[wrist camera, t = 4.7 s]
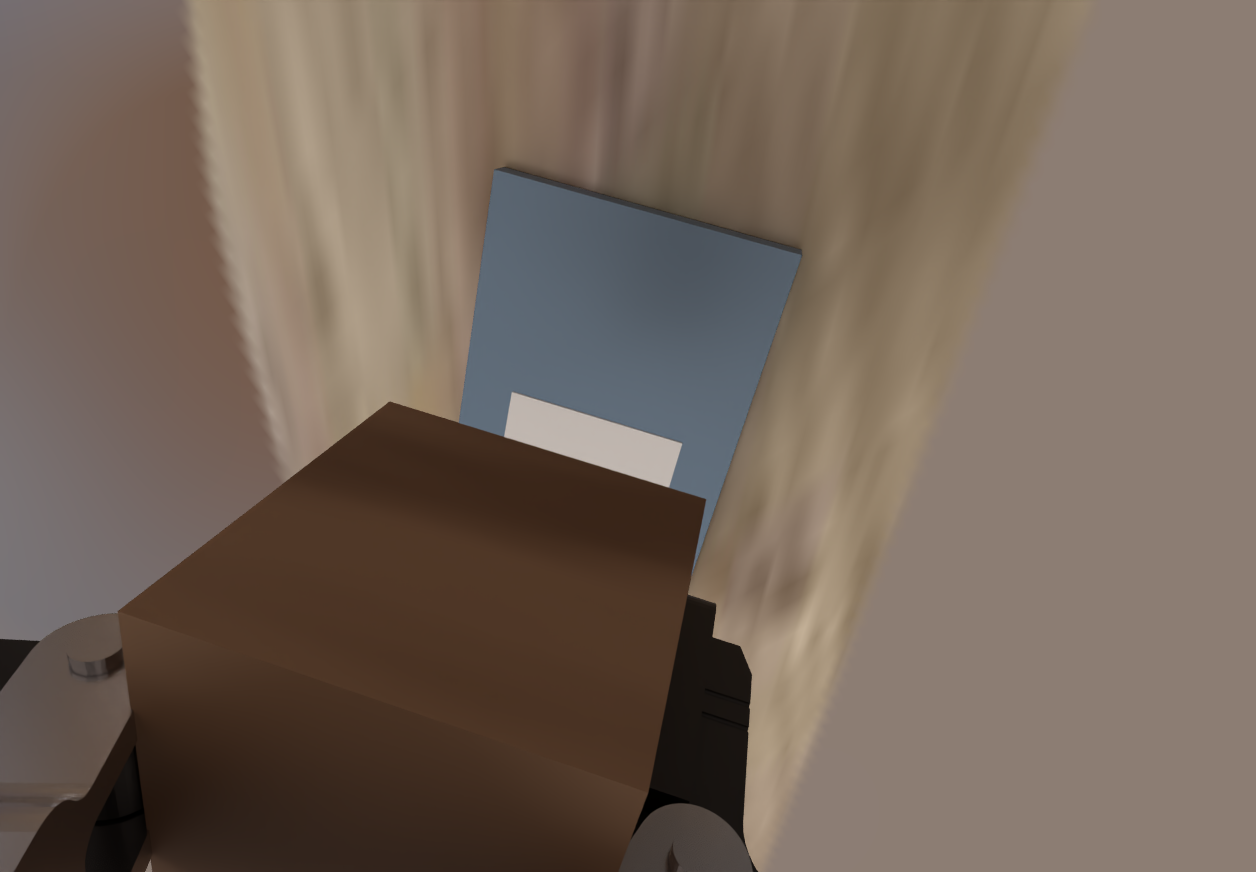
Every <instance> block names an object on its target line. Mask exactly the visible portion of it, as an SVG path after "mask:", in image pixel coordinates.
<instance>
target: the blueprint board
mask: <svg viewBox="0 0 1256 872" xmlns="http://www.w3.org/2000/svg"><path fill="white" fill-rule="evenodd" d="M801 257H802V250H800V249H797V248H793V247H789V246H786V245H782V244H779V243H775V242H771V241H768V240H764V239H761V238H757V237H753V236H750V235H746V234H743V233H739V232H735V231H732V230H728V229H725V228H721V227H718V226H714V225H710V224H707V223H703V222H700V221H696V220H692V219H689V218H685V217H682V216H678V215H674V214H671V213H667V212H664V211H660V210H656V209H653V208H649V207H646V206H642V205H639V204H635V203H631V202H628V201H624V200H621V199H617V198H613V197H610V196H606V195H603V194H599V193H595V192H592V191H588V190H585V189H581V188H578V187H574V186H570V185H567V184H563V183H560V182H556V181H552V180H549V179H545V178H542V177H538V176H534V175H531V174H527V173H524V172H520V171H516V170H513V169H509V168H506V167H502V168H498V169H494V175H493V182H492V189H491V196H490V203H489V210H488V218H487V225H486V232H485V239H484V246H483V253H482V261H481V268H480V275H479V282H478V289H477V296H476V304H475V311H474V318H473V325H472V332H471V339H470V347H469V354H468V361H467V368H466V375H465V382H464V390H463V397H462V404H461V411H460V418H459V423H461V424H464V425H467V426H471V427H474V428H477V429H480V430H484V431H487V432H490V433H493V434H497V435H500V436H503V437H506V438H510V439H513V440H516V441H519V442H523V443H526V444H529V445H532V446H536V447H539V448H542V449H545V450H549V451H552V452H555V453H558V454H562V455H565V456H568V457H571V458H574V459H578V460H581V461H584V462H587V463H591V464H594V465H597V466H600V467H604V468H607V469H610V470H613V471H617V472H620V473H623V474H626V475H630V476H633V477H636V478H639V479H643V480H646V481H649V482H652V483H656V484H659V485H662V486H665V487H669V488H672V489H675V490H678V491H682V492H685V493H688V494H691V495H695V496H698V497H701V498H704V499H706V504H705V509H704V514H703V519H702V524H701V529H700V534H699V539H698V544H697V549H696V554H695V560H694V565H693V570H694V567H695V564H696V561H697V558H698V556H699V553H700V550H701V547H702V544H703V541H704V538H705V535H706V532H707V529H708V527H709V524H710V521H711V518H712V515H713V512H714V509H715V506H716V503H717V500H718V498H719V495H720V492H721V489H722V486H723V483H724V480H725V477H726V474H727V472H728V469H729V466H730V463H731V460H732V457H733V454H734V451H735V448H736V445H737V443H738V440H739V437H740V434H741V431H742V428H743V425H744V422H745V419H746V416H747V414H748V411H749V408H750V405H751V402H752V399H753V396H754V393H755V390H756V387H757V385H758V382H759V379H760V376H761V373H762V370H763V367H764V364H765V361H766V358H767V356H768V353H769V350H770V347H771V344H772V341H773V338H774V335H775V332H776V330H777V327H778V324H779V321H780V318H781V315H782V312H783V309H784V306H785V303H786V301H787V298H788V295H789V292H790V289H791V286H792V283H793V280H794V277H795V274H796V272H797V269H798V266H799V263H800V260H801ZM693 570H692V573H693ZM691 576H692V575H691Z"/></svg>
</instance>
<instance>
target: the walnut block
mask: <svg viewBox="0 0 1256 872" xmlns="http://www.w3.org/2000/svg"><path fill="white" fill-rule="evenodd" d="M705 504H706V499H704V498H701V497H698V496H695V495H691V494H688V493H685V492H682V491H678V490H675V489H672V488H669V487H665V486H662V485H659V484H656V483H652V482H649V481H646V480H643V479H639V478H636V477H633V476H630V475H626V474H623V473H620V472H617V471H613V470H610V469H607V468H604V467H600V466H597V465H594V464H591V463H587V462H584V461H581V460H578V459H574V458H571V457H568V456H565V455H562V454H558V453H555V452H552V451H549V450H545V449H542V448H539V447H536V446H532V445H529V444H526V443H523V442H519V441H516V440H513V439H510V438H506V437H503V436H500V435H497V434H493V433H490V432H487V431H484V430H480V429H477V428H474V427H471V426H467V425H464V424H461V423H458V422H454V421H451V420H448V419H445V418H441V417H438V416H435V415H432V414H428V413H425V412H422V411H419V410H415V409H412V408H409V407H406V406H402V405H399V404H396V403H393V402H388V403H387V404H386V405H385V406H383V407H382V408H381V409H379V410H378V411H377V412H375V413H374V414H373V415H372V416H370V417H369V418H368V419H366V420H365V421H364V422H363V423H361V424H360V425H359V426H357V427H356V428H355V429H353V430H352V431H351V432H350V433H348V434H347V435H346V436H344V437H343V438H342V439H340V440H339V441H338V442H337V443H335V444H334V445H333V446H331V447H330V448H329V449H327V450H326V451H325V452H324V453H322V454H321V455H320V456H318V457H317V458H316V459H315V460H313V461H312V462H311V463H309V464H308V465H307V466H305V467H304V468H303V469H302V470H300V471H299V472H298V473H296V474H295V475H294V476H292V477H291V478H290V479H289V480H287V481H286V482H285V483H283V484H282V485H281V486H280V487H278V488H277V489H276V490H274V491H273V492H272V493H271V494H269V495H268V496H267V497H265V498H264V499H263V500H261V501H260V502H259V503H258V504H256V505H255V506H254V507H252V508H251V509H250V510H249V511H247V512H246V513H245V514H243V515H242V516H241V517H239V518H238V519H237V520H236V521H234V522H233V523H232V524H230V525H229V526H228V527H226V528H225V529H224V530H222V531H221V532H220V533H219V534H217V535H216V536H215V537H214V538H212V539H211V540H210V541H208V542H207V543H206V544H204V545H203V546H202V547H200V548H199V549H198V550H197V551H195V552H194V553H193V554H191V555H190V556H189V557H187V558H186V559H185V560H184V561H182V562H181V563H180V564H179V565H177V566H176V567H175V568H173V569H172V570H171V571H169V572H168V573H167V574H165V575H164V576H163V577H162V578H160V579H159V580H158V581H156V582H155V583H154V584H152V585H151V586H150V587H149V588H147V589H146V590H145V591H144V592H142V593H141V594H139V595H138V596H137V597H136V598H134V599H133V600H132V601H130V602H129V603H128V604H127V605H125V606H124V607H123V608H121V609H120V610H119V611H118V618H119V626H120V633H121V641H122V648H123V656H124V663H125V671H126V678H127V686H128V693H129V701H130V708H131V709H133V710H134V717H135V724H136V732H137V742H136V744H135V745H136V753H137V760H138V768H139V775H140V783H141V790H142V798H143V805H144V813H145V820H146V828H147V830H149V832H150V839H151V847H152V857H151V865H152V872H618V871H619V869H620V866H621V863H622V861H623V858H624V855H625V853H626V850H627V848H628V845H629V842H630V840H631V837H632V834H633V832H634V829H635V826H636V824H637V821H638V818H639V816H640V813H641V811H642V808H643V805H644V803H645V800H646V797H647V795H648V792H649V787H650V782H651V776H652V771H653V766H654V761H655V756H656V751H657V746H658V741H659V736H660V731H661V726H662V721H663V716H664V711H665V706H666V701H667V696H668V691H669V686H670V681H671V676H672V671H673V665H674V660H675V655H676V650H677V645H678V640H679V635H680V630H681V625H682V620H683V615H684V610H685V605H686V600H687V595H688V590H689V585H690V580H691V575H692V570H693V565H694V560H695V554H696V549H697V544H698V539H699V534H700V529H701V524H702V519H703V514H704V509H705Z"/></svg>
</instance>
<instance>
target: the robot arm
mask: <svg viewBox="0 0 1256 872" xmlns="http://www.w3.org/2000/svg"><path fill="white" fill-rule="evenodd" d="M715 614H716V604H715V603H712V602H709V601H706V600H703V599H700V598H697V597H693V596H690V595H687V600H686V605H685V610H684V615H683V620H682V625H681V630H680V635H679V640H678V645H677V650H676V655H675V660H674V665H673V671H672V676H671V681H670V686H669V691H668V696H667V701H666V706H665V711H664V716H663V721H662V726H661V731H660V736H659V741H658V746H657V751H656V756H655V761H654V766H653V771H652V776H651V782H650V787H649V792H648V795H647V797H646V800H645V803H644V805H643V808H642V811H641V813H640V816H639V818H638V821H637V824H636V826H635V829H634V832H633V834H632V837H631V840H630V842H629V845H628V848H627V850H626V853H625V855H624V858H623V861H622V863H621V866H620V869H619V871H618V872H758V871H757V870H756V868H755V866H754V864H753V862H752V860H751V858H750V856H749V853H748V850H747V847H746V844H745V839H744V833H743V815H744V798H745V781H746V765H747V748H748V732H747V731H748V727H749V714H750V709H749V705H750V698H751V681H752V674H751V671H750V669H749V667H748V664H747V662H746V659H745V657H744V654H743V652H742V649H741V647H740V646H738V645H735V644H732V643H728V642H725V641H722V640H719V639H716V638H713V637H712V635H713V628H714V621H715ZM136 742H137V732H136V724H135V717H134V710H133V709H131V708H130V701H129V693H128V686H127V678H126V671H125V663H124V656H123V648H122V641H121V633H120V626H119V618H118V613H111V614H101V615H96V616H91V617H87V618H83V619H80V620H77V621H75V622H72V623H69V624H67V625H65V626H63V627H61V628H59V629H57V630H55V631H54V632H52V633H50V634H49V635H47V636H46V637H45V638H44V639H42V640H41V641H27V640H8V639H0V872H145V871H146V868H147V866H148V863H149V861H150V859H151V857H152V847H151V839H150V832H149V830H147V828H146V820H145V813H144V805H143V798H142V790H141V783H140V775H139V768H138V760H137V753H136V745H135V744H136Z"/></svg>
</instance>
